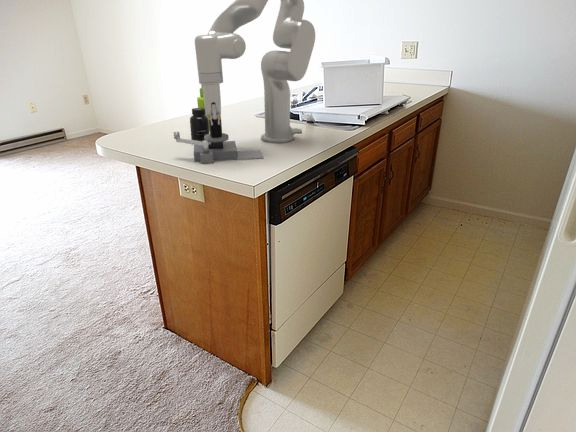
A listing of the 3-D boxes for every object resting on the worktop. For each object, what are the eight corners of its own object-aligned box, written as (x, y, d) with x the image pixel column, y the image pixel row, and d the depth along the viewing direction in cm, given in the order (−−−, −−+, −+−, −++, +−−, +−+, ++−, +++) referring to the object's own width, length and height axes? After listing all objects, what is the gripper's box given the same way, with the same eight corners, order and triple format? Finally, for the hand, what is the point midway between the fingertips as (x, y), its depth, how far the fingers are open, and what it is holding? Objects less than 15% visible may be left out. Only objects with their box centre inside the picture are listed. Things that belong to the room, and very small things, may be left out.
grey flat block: (235, 149, 147) (234, 140, 146) (238, 161, 134) (238, 152, 133) (195, 151, 145) (194, 142, 144) (194, 164, 132) (193, 155, 131)
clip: (177, 146, 138) (175, 131, 135) (210, 151, 133) (208, 135, 131) (174, 148, 136) (172, 132, 134) (207, 153, 132) (205, 137, 129)
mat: (260, 150, 146) (260, 149, 145) (263, 158, 138) (263, 157, 137) (234, 152, 144) (234, 150, 144) (236, 160, 136) (236, 158, 136)
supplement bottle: (201, 144, 153) (198, 111, 147) (187, 141, 156) (184, 109, 151) (213, 140, 158) (211, 108, 153) (200, 137, 161) (197, 106, 156)
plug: (228, 144, 145) (226, 112, 140) (230, 151, 138) (227, 118, 133) (205, 145, 143) (202, 113, 138) (205, 152, 136) (202, 119, 131)
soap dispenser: (213, 132, 168) (209, 81, 160) (197, 131, 169) (193, 80, 161) (218, 129, 173) (215, 79, 165) (203, 128, 175) (199, 78, 166)
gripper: (198, 74, 137) (204, 129, 145) (198, 82, 122) (205, 143, 130) (221, 73, 138) (226, 127, 146) (224, 81, 123) (229, 141, 132)
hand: (216, 134), depth 138 cm, fingers closed on plug, 4 cm apart
